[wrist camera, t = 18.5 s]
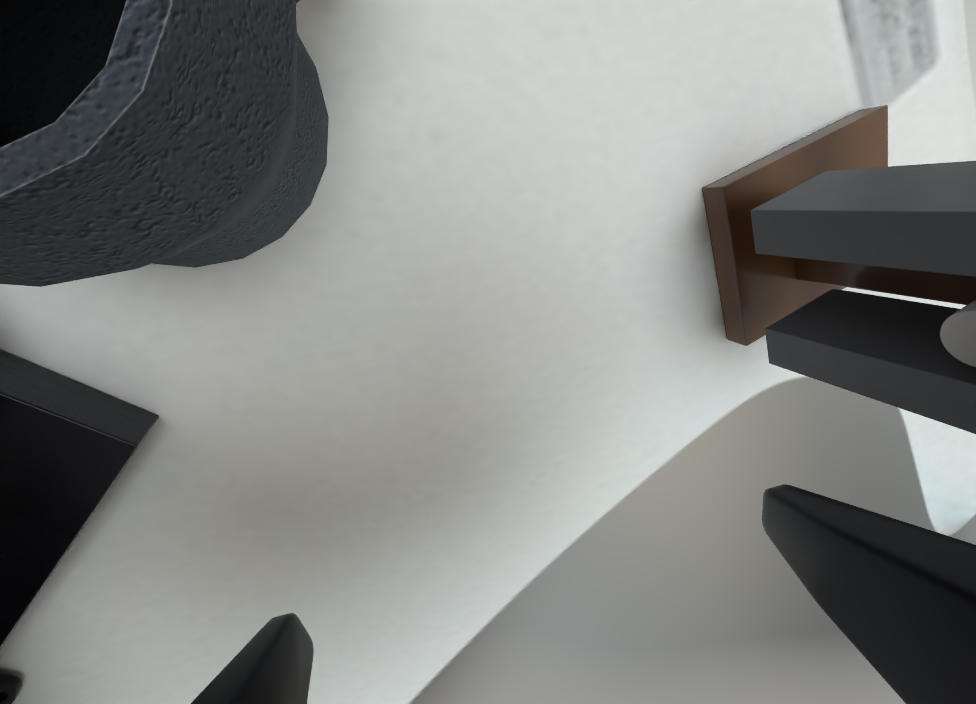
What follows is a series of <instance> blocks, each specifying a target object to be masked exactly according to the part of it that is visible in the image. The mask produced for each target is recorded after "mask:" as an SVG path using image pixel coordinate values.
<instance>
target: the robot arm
mask: <svg viewBox="0 0 976 704" xmlns="http://www.w3.org/2000/svg"><path fill="white" fill-rule="evenodd" d="M762 513H763V514H762V522H763V527H764V529H765V531H766V533H767V535H768V536H769V538H770V539H771V541H772V542H773V543H774V545H775V546H776V548H777V549H778V550H779V551H780V553H781V554H782V556H783V557H784V558H785V560H786V561H787V563H788V564H789V565H790V567H791V568H792V569H793V571H794V572H795V574H796V575H797V576H798V578H799V579H800V580H801V582H802V583H803V584H804V586H805V587H806V589H807V590H808V591H809V593H810V594H811V595H812V597H813V598H814V599H815V601H816V602H817V603H818V604H819V605H820V607H821V608H822V609H823V610H824V611H825V613H826V614H827V615H828V616H829V617H830V618H831V620H833V622H834V623H835V624H836V625H837V626H838V627H839V629H840V630H841V631H842V632H843V633H844V634H845V635H846V636H847V638H848V639H849V640H850V641H851V642H852V643H853V644H854V646H855V647H856V648H857V649H858V650H859V651H860V652H861V653H862V655H863V656H864V657H865V658H866V659H867V660H868V661H869V662H870V664H871V665H872V666H873V667H874V668H875V669H876V670H877V671H878V673H879V674H880V675H881V676H882V677H883V678H884V679H885V680H886V682H887V683H888V684H889V685H890V686H891V687H892V688H893V689H894V691H895V692H896V693H897V694H898V695H899V696H900V697H901V698H902V700H903V701H904V702H905V703H906V704H976V545H974V544H971V543H968V542H965V541H961V540H958V539H955V538H952V537H949V536H946V535H943V534H940V533H937V532H934V531H931V530H927V529H924V528H921V527H918V526H915V525H912V524H909V523H906V522H903V521H899V520H896V519H893V518H890V517H887V516H884V515H881V514H878V513H875V512H871V511H868V510H865V509H862V508H859V507H856V506H853V505H850V504H847V503H844V502H840V501H837V500H834V499H831V498H828V497H825V496H822V495H819V494H815V493H812V492H809V491H806V490H803V489H800V488H797V487H794V486H790V485H780V486H776V487H772V488H769V489H767V490H765V492H764V495H763V511H762ZM312 661H313V643H312V640H311V637H310V636H309V634H308V633H307V631H306V629H305V628H304V626H303V625H302V623H301V621H300V620H299V618H298V617H297V615H295V614H293V613H289V614H286V615H282V616H278V617H274V618H272V619H271V620H270V621H269V622H268V623H267V624H266V625H265V626H264V627H263V628H262V629H261V630H260V631H259V632H258V633H257V634H256V635H255V636H254V637H253V638H252V639H251V641H250V642H249V643H248V644H247V645H246V646H245V647H244V648H243V649H242V650H241V651H240V652H239V653H238V654H237V655H236V656H235V657H234V658H233V660H232V661H231V662H230V663H229V664H228V665H227V666H226V667H225V668H224V669H223V670H222V671H221V672H220V673H219V674H218V675H217V676H216V677H215V678H214V680H213V681H212V682H211V683H210V684H209V685H208V686H207V687H206V688H205V689H204V690H203V691H202V692H201V693H200V694H199V695H198V696H197V697H196V699H195V700H194V701H193V702H192V703H191V704H307V698H308V691H309V683H310V676H311V669H312ZM22 685H23V684H22V681H21V680H20V679H19V678H18V677H16V676H13V675H8V674H2V673H0V691H2V692H0V704H12V702H13V701H14V700H15V698H16V696H17V695H18V693H19V691H20V690H21V687H22Z"/></svg>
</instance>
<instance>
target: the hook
mask: <svg viewBox="0 0 976 704" xmlns="http://www.w3.org/2000/svg"><path fill="white" fill-rule="evenodd" d="M877 167H888V106H887V105H885V106H879V107H874V108H868V109H862V110H860V111H858V112H856V113H854V114H852V115H850V116H848V117H845V118H843V119H841V120H839V121H837V122H835V123H833V124H831V125H829V126H827V127H825V128H823V129H821V130H819V131H817V132H815V133H813V134H811V135H809V136H807V137H805V138H803V139H801V140H799V141H797V142H795V143H793V144H791V145H789V146H787V147H785V148H783V149H781V150H779V151H777V152H775V153H773V154H771V155H769V156H767V157H764V158H762V159H760V160H758V161H756V162H754V163H752V164H750V165H748V166H746V167H744V168H742V169H740V170H738V171H736V172H734V173H732V174H730V175H728V176H726V177H724V178H722V179H720V180H718V181H716V182H714V183H712V184H710V185H708V186H706V187H704V188H703V193H704V199H705V206H706V212H707V218H708V224H709V230H710V236H711V242H712V248H713V254H714V260H715V266H716V272H717V278H718V284H719V290H720V296H721V302H722V308H723V315H724V321H725V327H726V333H727V339H728V340H730V341H733V342H736V343H739V344H742V345H745V346H747V345H749V344H751V343H752V342H754V341H756V340H758V339H759V338H761V337H763V336H764V335H766V333H765V328H767V327H768V326H770V325H772V324H773V323H775V322H777V321H779V320H780V319H782V318H784V317H785V316H787V315H789V314H790V313H792V312H794V311H796V310H797V309H799V308H801V307H802V306H804V305H806V304H807V303H809V302H811V301H813V300H814V299H816V298H818V297H819V296H821V295H823V294H824V293H826V292H828V291H830V290H831V289H837V290H842V289H844V288H845V287H851V288H857V289H864V290H871V291H877V292H884V293H890V294H897V295H904V296H910V297H917V298H924V299H930V300H937V301H943V302H950V303H957V304H963V305H966V306H965V307H963V308H962V309H960V310H959V311H957V312H956V313H954V314H953V315H951V316H950V317H948V318H947V319H946V320H945V321H944V322H943V324H942V326H941V330H940V337H941V341H942V343H943V345H944V347H945V348H946V350H947V351H948V352H949V353H950V354H951V355H953V356H954V357H955V358H957V359H958V360H960V361H961V362H963V363H966V364H968V365H971V366H974V367H976V277H971V276H962V275H952V274H943V273H934V272H925V271H915V270H906V269H897V268H887V267H878V266H869V265H859V264H850V263H841V262H831V261H822V260H813V259H803V258H794V257H785V256H776V255H766V254H757V253H756V251H755V243H754V235H753V227H752V219H751V210H752V209H754V208H756V207H758V206H760V205H762V204H764V203H766V202H768V201H769V200H771V199H773V198H775V197H777V196H779V195H781V194H783V193H785V192H787V191H789V190H791V189H793V188H795V187H796V186H798V185H800V184H802V183H804V182H806V181H808V180H810V179H812V178H814V177H816V176H818V175H820V174H821V173H823V172H825V171H832V170H847V169H862V168H877Z"/></svg>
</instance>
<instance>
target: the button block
mask: <svg viewBox="0 0 976 704" xmlns="http://www.w3.org/2000/svg"><path fill="white" fill-rule="evenodd" d="M158 417H159V416H157V415H155V414H153V413H150V412H148V411H146V410H143V409H141V408H138V407H136V406H134V405H131V404H129V403H126V402H124V401H122V400H119V399H117V398H114V397H112V396H110V395H107V394H105V393H103V392H100V391H98V390H95V389H93V388H91V387H88V386H86V385H83V384H81V383H79V382H76V381H74V380H71V379H69V378H67V377H64V376H62V375H59V374H57V373H55V372H52V371H50V370H48V369H45V368H43V367H40V366H38V365H36V364H33V363H31V362H28V361H26V360H24V359H21V358H19V357H16V356H14V355H12V354H9V353H7V352H5V351H2V350H0V649H1V648H2V646H3V645H4V643H5V642H6V640H7V639H8V637H9V636H10V634H11V633H12V632H13V630H14V629H15V627H16V626H17V624H18V623H19V621H20V620H21V618H22V617H23V615H24V614H25V612H26V611H27V610H28V608H29V607H30V605H31V604H32V602H33V601H34V599H35V598H36V596H37V595H38V593H39V592H40V590H41V589H42V588H43V586H44V585H45V583H46V582H47V580H48V579H49V577H50V576H51V574H52V573H53V571H54V570H55V568H56V567H57V566H58V564H59V563H60V561H61V560H62V558H63V557H64V555H65V554H66V552H67V551H68V549H69V548H70V546H71V545H72V544H73V542H74V541H75V539H76V538H77V536H78V535H79V533H80V532H81V530H82V529H83V527H84V526H85V524H86V523H87V522H88V520H89V519H90V517H91V516H92V514H93V513H94V511H95V510H96V508H97V507H98V505H99V504H100V502H101V501H102V500H103V498H104V497H105V495H106V494H107V492H108V491H109V489H110V488H111V486H112V485H113V483H114V482H115V480H116V479H117V478H118V476H119V475H120V473H121V472H122V470H123V469H124V467H125V466H126V464H127V463H128V461H129V460H130V458H131V457H132V456H133V454H134V453H135V451H136V450H137V448H138V447H139V445H140V444H141V442H142V441H143V439H144V438H145V436H146V435H147V434H148V432H149V431H150V429H151V428H152V426H153V425H154V423H155V422H156V420H157V419H158Z"/></svg>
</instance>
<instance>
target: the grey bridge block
mask: <svg viewBox="0 0 976 704" xmlns="http://www.w3.org/2000/svg"><path fill="white" fill-rule="evenodd" d="M751 219H752V227H753V235H754V243H755V251H756V253H757V254H766V255H776V256H785V257H794V258H803V259H813V260H822V261H831V262H841V263H850V264H859V265H869V266H878V267H887V268H897V269H906V270H915V271H925V272H934V273H943V274H952V275H962V276H971V277H976V161H967V162H952V163H937V164H922V165H907V166H892V167H877V168H862V169H847V170H832V171H825V172H823V173H821V174H820V175H818V176H816V177H814V178H812V179H810V180H808V181H806V182H804V183H802V184H800V185H798V186H796V187H795V188H793V189H791V190H789V191H787V192H785V193H783V194H781V195H779V196H777V197H775V198H773V199H771V200H769V201H768V202H766V203H764V204H762V205H760V206H758V207H756V208H754V209H752V210H751ZM959 310H960V309H957V308H950V307H944V306H938V305H932V304H925V303H919V302H913V301H906V300H900V299H894V298H888V297H881V296H875V295H869V294H863V293H856V292H850V291H844V290H837V289H831V290H830V291H828V292H826V293H824V294H823V295H821V296H819V297H818V298H816V299H814V300H813V301H811V302H809V303H807V304H806V305H804V306H802V307H801V308H799V309H797V310H796V311H794V312H792V313H790V314H789V315H787V316H785V317H784V318H782V319H780V320H779V321H777V322H775V323H773V324H772V325H770V326H768V327H767V328H765V333H766V341H767V349H768V357H769V363H770V364H773V365H776V366H779V367H782V368H785V369H788V370H791V371H794V372H797V373H799V374H802V375H805V376H808V377H811V378H814V379H817V380H820V381H823V382H826V383H829V384H832V385H834V386H837V387H840V388H843V389H846V390H849V391H852V392H855V393H858V394H861V395H864V396H866V397H870V398H872V399H875V400H878V401H881V402H884V403H887V404H890V405H893V406H896V407H899V408H901V409H904V410H907V411H910V412H913V413H916V414H919V415H922V416H925V417H928V418H931V419H934V420H936V421H939V422H942V423H945V424H948V425H951V426H954V427H957V428H960V429H963V430H966V431H969V432H971V433H974V434H976V367H974V366H971V365H968V364H966V363H963V362H961V361H960V360H958V359H957V358H955V357H954V356H953V355H951V354H950V353H949V352H948V351H947V350H946V348H945V347H944V345H943V343H942V341H941V337H940V330H941V326H942V324H943V322H944V321H945V320H946V319H947V318H948V317H950V316H951V315H953V314H954V313H956V312H957V311H959Z"/></svg>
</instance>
